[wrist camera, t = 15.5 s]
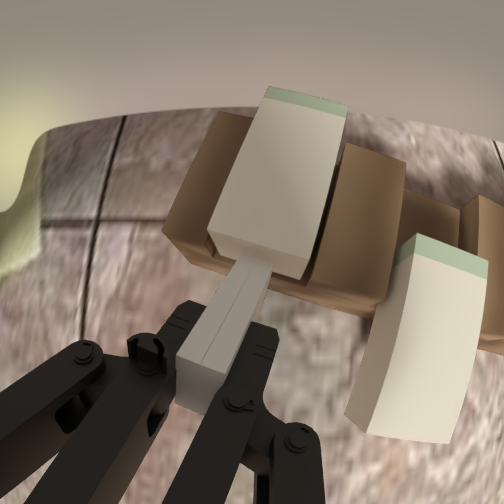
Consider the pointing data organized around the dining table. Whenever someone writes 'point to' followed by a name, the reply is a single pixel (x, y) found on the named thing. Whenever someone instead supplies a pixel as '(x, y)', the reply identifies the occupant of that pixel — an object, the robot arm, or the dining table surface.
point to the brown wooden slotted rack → (346, 228)
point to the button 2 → (280, 181)
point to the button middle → (421, 344)
